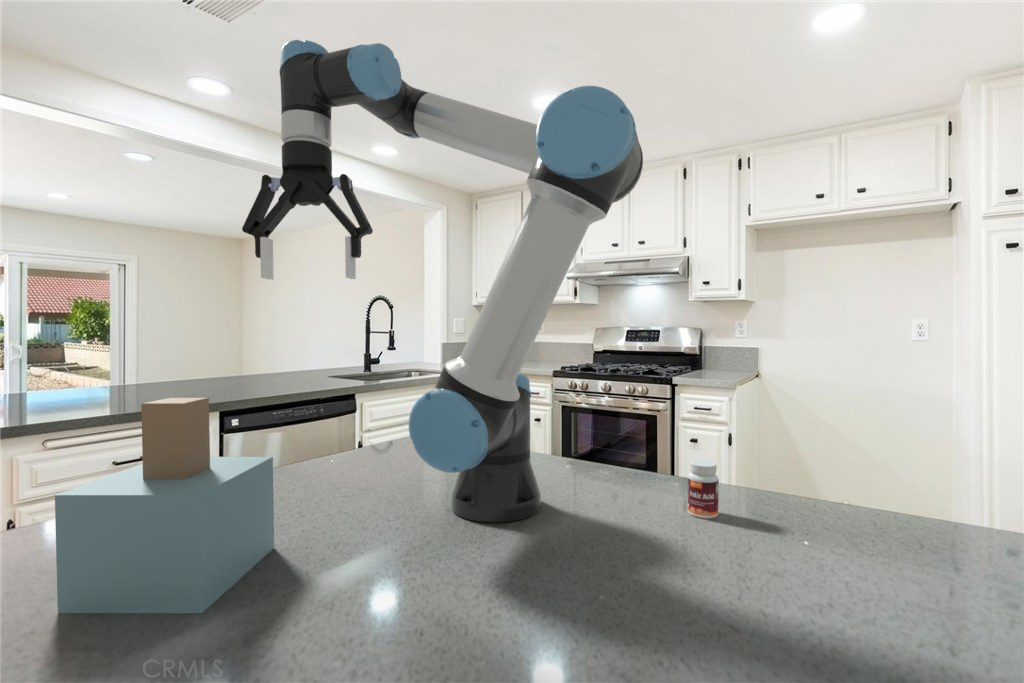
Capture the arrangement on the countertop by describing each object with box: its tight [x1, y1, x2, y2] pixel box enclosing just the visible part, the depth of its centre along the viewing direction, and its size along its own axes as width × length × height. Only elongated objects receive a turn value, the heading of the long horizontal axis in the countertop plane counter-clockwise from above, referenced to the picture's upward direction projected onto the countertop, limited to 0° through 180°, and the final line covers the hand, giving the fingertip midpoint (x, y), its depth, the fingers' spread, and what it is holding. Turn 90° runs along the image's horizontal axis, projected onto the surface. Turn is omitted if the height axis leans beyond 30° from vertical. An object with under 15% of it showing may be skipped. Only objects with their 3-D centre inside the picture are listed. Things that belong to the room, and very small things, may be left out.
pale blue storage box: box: [54, 397, 275, 614], centre depth 64 cm, size 16×17×22 cm
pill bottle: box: [687, 459, 720, 520], centre depth 85 cm, size 5×5×8 cm
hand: (309, 278), depth 84 cm, fingers open, 13 cm apart
